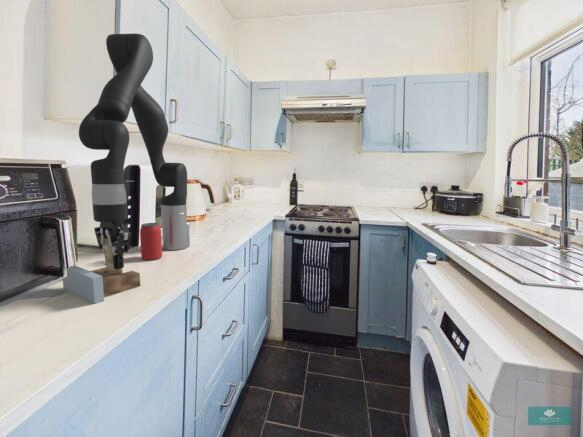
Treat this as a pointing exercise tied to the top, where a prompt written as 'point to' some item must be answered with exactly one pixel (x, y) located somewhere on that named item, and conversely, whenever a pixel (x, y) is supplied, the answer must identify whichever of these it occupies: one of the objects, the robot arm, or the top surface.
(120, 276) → the block
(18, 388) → the top surface
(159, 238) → the beer can
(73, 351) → the top surface
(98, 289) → the wall
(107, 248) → the dowel
